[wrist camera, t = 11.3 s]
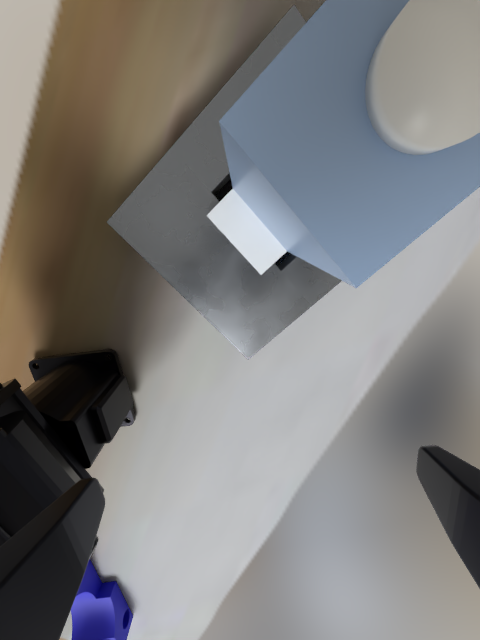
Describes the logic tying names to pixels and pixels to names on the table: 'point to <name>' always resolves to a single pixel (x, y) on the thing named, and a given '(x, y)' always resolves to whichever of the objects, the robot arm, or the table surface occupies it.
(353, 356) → the table surface
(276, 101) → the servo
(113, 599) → the cable clip
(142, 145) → the table surface
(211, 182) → the plate
